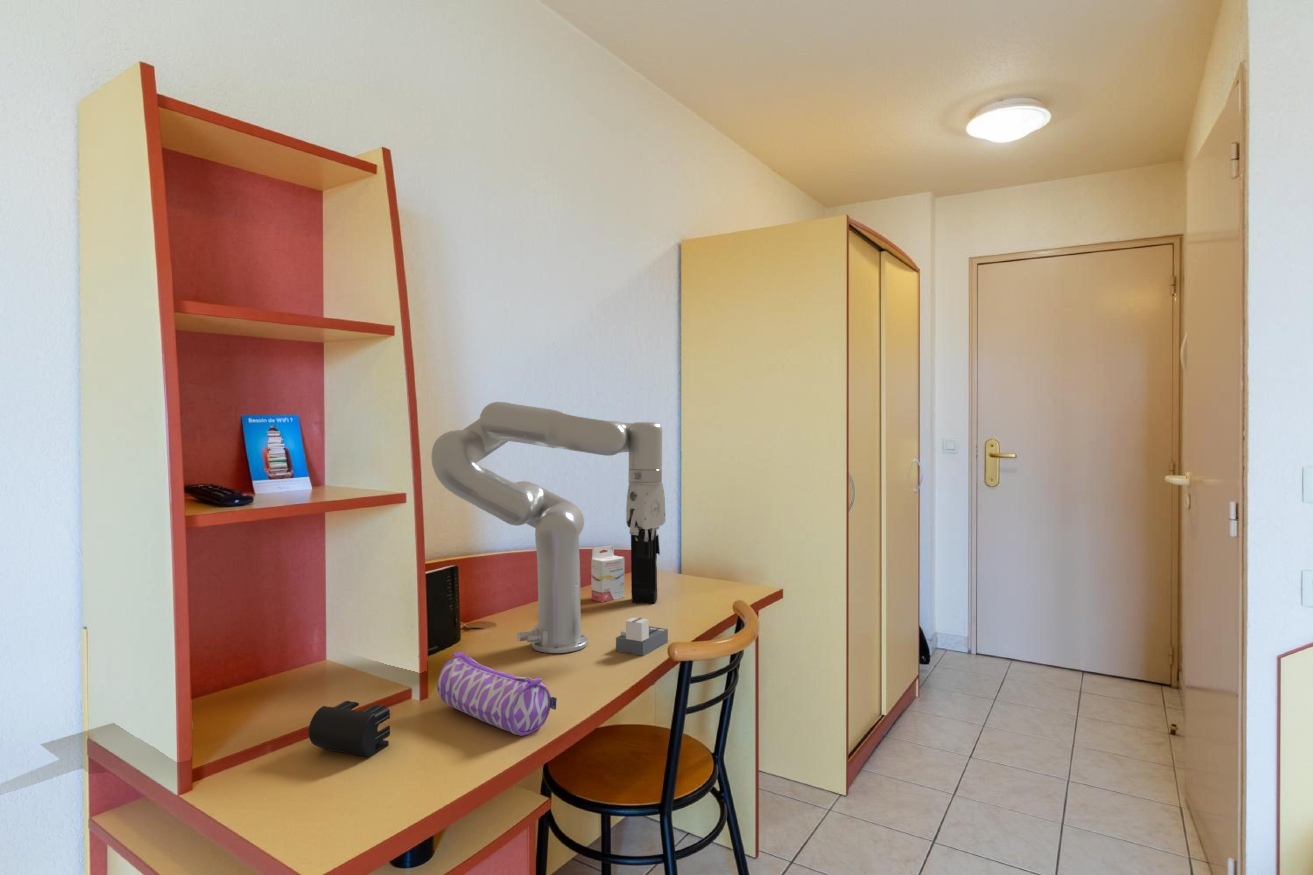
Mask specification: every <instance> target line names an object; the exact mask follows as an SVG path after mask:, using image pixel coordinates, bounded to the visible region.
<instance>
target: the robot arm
mask: <svg viewBox="0 0 1313 875" xmlns="http://www.w3.org/2000/svg"><path fill="white" fill-rule="evenodd" d="M508 442H513V443H521V444H527V445H533V446H539V447H546V448H551V449H561V450H562V449H563V450H568V451H574V452H579V453H586V454H593V455H599V456H608V457H609V456H610V457H611V456H615V455H617V454H621V453H628V485H627V486H628V487H627V493H626V494H627V495H626V508H625V524H626V526H627V527H628V528H629V535H631V534H632V535H635V539H636V541H637V558H641V559H650V558H652V556H653V541H651V540H653V539H654V533H655V531H656V532H657V531H658V530H659V529H660V527H662V526H663V525H664V524H666V500H665V499H666V498H665V489H664V484H663V479H662V478H663V475H662V474H663V427H662V425H661V424H660V423H658V422H651V421H650V422H649V421H648V422H647V421H644V422H643V421H640V422H638V421H637V422H622V421H616V420H603V419H597V418H596V419H595V418H591V417H590V418H589V417H583V416H577V415H571V414H567V413H563V412H562V411H559V410H556V409H551V408H543V407H536V406H529V405H524V404H523V405H522V404H517V403H511V402H506V401H505V402H504V401H495V402H490V403H489V404H487V405H486V406H485V407H484V408H483V409H482V410H481V413H480V415H479V418H478V419H477V420H475V421H474V422H472V423H470V424H469V425H468V426H466V427H464V428H463V429H456V430H455V429H454V430H450V431H447V432H444V433H442V434H441V435H439V437H437V439H436V440H434V443H433V445H432V447H431V448H432V449H431V465H432V469H433V472H434V475H435V476H436V479H437V480H438V481H439V482H440V484H441V485H442V486H443V487H444V488H445V489H446V490H448V491H449V492H451V493H452V494H453V495H455V496H457V497H458V498H460V499H462V500H464V501H466V502H468V503H470V504H472V505H473V506H475V507H476V508H479V509H480V510H482V511H484V512H486V513H488V514H490V515H492V516H493V517H495V518H497V519H499V520H501V521H503V522H504V523H506V524H507V525H510V526H515V527H516V526H522V525H525V524H527V525H528V526H529V527H532V528H533V529H535V532H534V537H535V546H536V547H535V548H536V550H535V551H536V560H537V561H536V564H537V592H538V594H537V597H538V598H537V602H538V604H537V606H538V607H537V608H538V611H537V612H538V624H535V625H534V629H531V630H530V631H522V632H518V633H517V641H518V642H520V643H521V642H524V641H525V642H527V643H531V647H532V648H533V649H534V650H535V651H538V652H541V653H545V654H546V653H547V654H565V653H572V652H576V651H579V650H582V649H584V648H586V647H587V645H588V643H589V639H588V637H587V636H586V635H585V634H582V630H581V629H582V626H581V625H582V618H581V617H582V615H581V612H582V610H581V604H582V603H581V562H580V560H581V556H580V546H579V544H580V543H579V540H580V534H581V533H582V531H583V529H584V527H585V526H584V525H585V518H584V514H583V513H582V510H581V509H580V508H579V507H578V506H577V505H576V504H574V503H572V501H569V500H568V499H566V498H564V497H561V496H560V495H558V494H555V493H554V492H553V491H550V490H548V489H546V488H544V487H543V486H540V485H538V484H536V483H533V482H530V481H525V480H524V481H516V482H513V481H511V480H509V479H507V478H504V477H502V476H500V475H499V474H497V473H495V472H493V471H492V470H489V469H487V468H486V467H483V466H480V465H479V464H477V463H479V462H481V460H483V459H485V458H487V457H488V456H489V455H491V454H492V453H493V452H495V451H497V450H498V449H499V448H501V447H502V446H504V445H506V443H508Z"/></svg>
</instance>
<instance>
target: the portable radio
mask: <svg viewBox="0 0 1313 875" xmlns="http://www.w3.org/2000/svg"><path fill="white" fill-rule="evenodd" d="M659 537H660V536H659V534H658V533H657V530H656V531H655V533H654V539H653V540H651V541H653V556H652V558H650V559H641V558H637V541H636V539H635V535H632V534H630V571H631V577H630V579H631V581H630V582H631V589H630V590H631V591H630V592H631V603H632V604H639V605H640V604H642V605H643V604H647V605H650V604H651V605H653V604H655V603H657V600H658V556H660V554H661V552H660V538H659ZM657 555H658V556H657Z"/></svg>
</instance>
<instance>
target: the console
mask: <svg viewBox="0 0 1313 875" xmlns="http://www.w3.org/2000/svg"><path fill="white" fill-rule="evenodd" d="M668 632H669V631H668V628H664V627H656V626H650V625H649V638H648V639H646V640H644V641H642V642H641V641H635V640H630V639H626V629H624V630H621V631H620V635H618V636H616V637H615V652H618V651H619V652H620V653H625V654H629V653H631V654H630V655H635V654H636V656H640V655H641V657H644V656H646V655H647V653H648V654H650V653H652V652H653V651H654V650H657V649H659V648H660V647H661V646H663V645H665V644H667V643H668V641H669V640H668V638H669V634H668Z"/></svg>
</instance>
